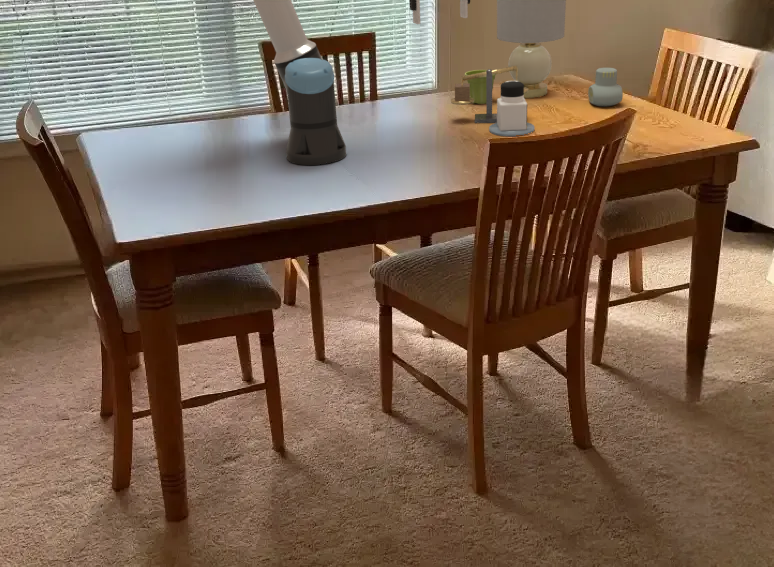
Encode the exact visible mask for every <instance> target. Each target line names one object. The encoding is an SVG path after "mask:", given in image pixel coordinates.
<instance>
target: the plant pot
mask: <svg viewBox="0 0 774 567" xmlns="http://www.w3.org/2000/svg"><path fill="white" fill-rule="evenodd" d="M487 70H488V69H474V70H469V71H466V72H465V73H464V76H467V75H472V74H477V73H482V72H486V71H487ZM496 75H497V74H495V75H492V91H493V90H494V89H493V88H494V82H495V80H496V79H495V78H496ZM466 81H467V83H470V97H471V98H473V99H474V102H473V103H472V104H477V105H486V76H485V77H480V78H475V79H470V80H466Z"/></svg>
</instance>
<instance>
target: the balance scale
mask: <svg viewBox="0 0 774 567" xmlns="http://www.w3.org/2000/svg"><path fill="white" fill-rule="evenodd" d="M486 70H487V71H486V72H482V73H477V74H472V75H467V76H465V75H463V76H461V79H460V80H461V83H455V85H454V97H453V98H451V99H450V104H453V105H457V106H458V105H459V106H461V105H462V106H463V105H470V104H474V103H473V102H474V99H473V98H471V97H470V83H468V82H467V83H464V82H465V81H467V80H470V79H475V78H480V77H485V76H486V104H485V105H486V112H485V113H474V124H495V123H497V113H493V90H492V75H495V74H496V75H498V74H499V75H500V74H502V73H503V74H505V73H510V72H509V71H514V70H516V81H517V74H518V68H517V66H511V67H508V66H507V67H502V68H497V69H493V70H492V69H491V68H490V69H489V68H488V69H486ZM496 75H495V76H496ZM527 92H528V88H527V87H524V93H527Z"/></svg>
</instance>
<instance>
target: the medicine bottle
mask: <svg viewBox="0 0 774 567" xmlns="http://www.w3.org/2000/svg"><path fill="white" fill-rule="evenodd" d="M496 114H497V125H498V127H499V129H500V131H512V130H526V129H527V123H528V102H527V100H526V98H524V84H523V83H522V82H519V81H515V80H507V81H504V82H502V83H501V84H500V97H499V98H497V99H496Z"/></svg>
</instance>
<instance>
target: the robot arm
mask: <svg viewBox="0 0 774 567" xmlns="http://www.w3.org/2000/svg"><path fill="white" fill-rule="evenodd" d="M253 3H254V5H255V7H256V10H257V11H258V14H259V17H260V19H261V21H262V23H263V26H264V27H265V30H266V32H267V35H268V37H269V39H270V42H271V44H272V46H273V48H274V52H275V56H274V59H273V62H274V65H275V67H276V70H277V72H278V74H279V77H280V78H281V81H282V82H283V86H284V88H285V92H286V95H287V103H288V104H287V105H288V114H289V116H288V117H289V123H290V129H289V134H288V139H287V143H286V144H287V145H286V149H285V154H286V160H287V161H288V162H289V161H290V162H289V163H291V162H292V164H295V165H300V166H317V165H318V166H320V164H321V165H327V164H331V162H332V163H335V162H338V161H341V160H343V159H344V158H345V157H346V156H347V146H346V143H345V141H344V138H343V135H342V132H341V131H340V128H339V126H338V117H337V116H338V115H337V107H336V106H337V105H336V94H335V92H336V91H335V90H336V89H335V73H334V70H333V68H334V67H333V66H332V64H331V62H329V61H327V60H326V59H322V56H321V53H320V51H319V49H318V46H317V44H316V42H314V41H312V40H310V39H308V38H307V35H306V33H305V30H304V28H303V25H302V24H301V21H300V18H299V16H298V14H297V12H296V11H297V10H295V7H294V4H293V2H292V0H253ZM408 3H409V9H410V11H412V22H413V24H416V25H421V1H420V0H409V2H408ZM470 3H471V0H459V15H460V18H463V19H468V17H469V16H468V14H469V13H468V8H469V7H468V5H469V4H470ZM326 163H327V164H326Z"/></svg>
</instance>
